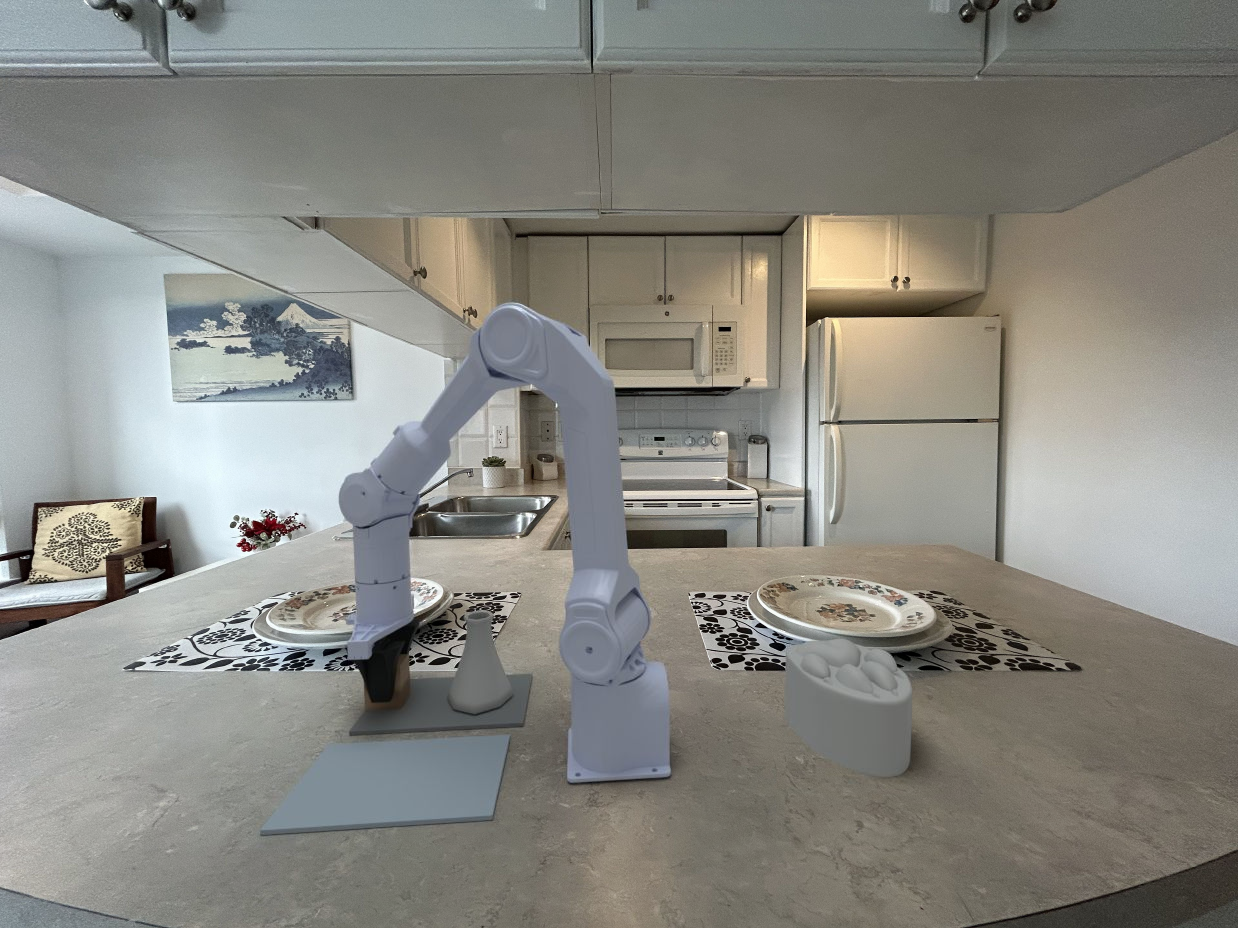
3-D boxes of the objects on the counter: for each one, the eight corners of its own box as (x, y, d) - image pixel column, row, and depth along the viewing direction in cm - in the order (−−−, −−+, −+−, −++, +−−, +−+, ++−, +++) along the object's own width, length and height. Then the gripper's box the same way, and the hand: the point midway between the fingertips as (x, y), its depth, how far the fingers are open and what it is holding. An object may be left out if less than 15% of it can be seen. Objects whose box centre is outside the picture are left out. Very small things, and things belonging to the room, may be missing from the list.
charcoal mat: (532, 676, 65) (531, 635, 65) (523, 726, 54) (522, 677, 54) (388, 682, 64) (386, 641, 64) (349, 735, 53) (347, 685, 53)
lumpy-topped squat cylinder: (855, 697, 60) (857, 626, 59) (942, 770, 47) (945, 681, 47) (773, 706, 58) (774, 632, 58) (839, 783, 46) (842, 691, 45)
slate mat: (510, 738, 52) (510, 734, 52) (492, 819, 41) (492, 815, 41) (328, 747, 51) (328, 743, 51) (260, 834, 40) (260, 830, 40)
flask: (487, 676, 65) (486, 600, 64) (524, 695, 60) (523, 613, 59) (435, 700, 59) (433, 616, 58) (472, 723, 54) (470, 632, 54)
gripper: (372, 561, 64) (376, 664, 65) (313, 599, 50) (319, 731, 51) (429, 559, 65) (432, 662, 66) (387, 597, 51) (392, 727, 52)
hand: (387, 692), depth 59 cm, fingers closed on charcoal mat, 3 cm apart
